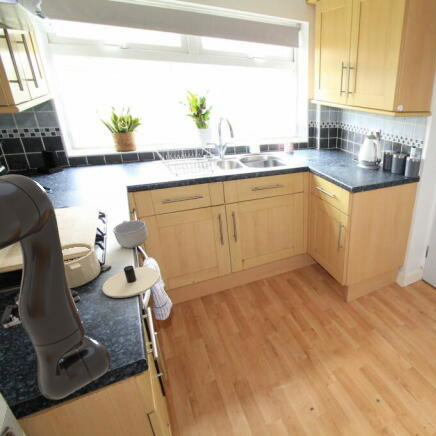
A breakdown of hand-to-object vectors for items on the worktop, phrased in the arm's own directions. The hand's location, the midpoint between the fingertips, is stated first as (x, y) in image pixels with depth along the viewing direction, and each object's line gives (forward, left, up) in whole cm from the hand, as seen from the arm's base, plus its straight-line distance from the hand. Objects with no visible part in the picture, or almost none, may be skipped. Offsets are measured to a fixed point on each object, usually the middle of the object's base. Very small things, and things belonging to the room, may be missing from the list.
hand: (33, 292), depth 78 cm
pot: (+11, +23, -12) cm, 28 cm away
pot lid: (+22, +5, -11) cm, 25 cm away
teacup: (+33, +33, -12) cm, 48 cm away
